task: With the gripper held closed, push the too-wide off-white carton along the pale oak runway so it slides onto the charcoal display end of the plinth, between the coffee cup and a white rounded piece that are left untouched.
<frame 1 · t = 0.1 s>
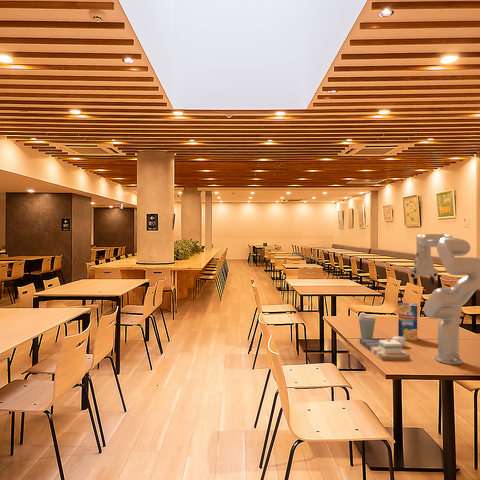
hand: (423, 284, 217), 37 cm above the table, tool pointing down, fingers open, 9 cm apart
beverage box: (407, 338, 236), on the table
carton: (390, 351, 202), point 2 cm above the table, touching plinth
white rounded piece: (398, 345, 221), on the table
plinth: (382, 350, 211), on the table
disposable coffee cup: (366, 339, 236), on the table
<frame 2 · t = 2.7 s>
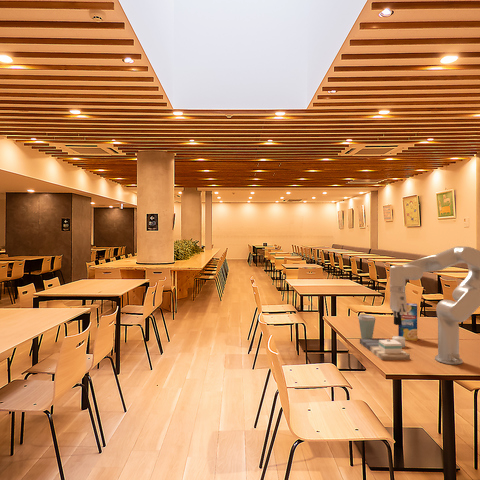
hand: (397, 324, 193), 19 cm above the table, tool pointing down, fingers closed
nothing on the table moved.
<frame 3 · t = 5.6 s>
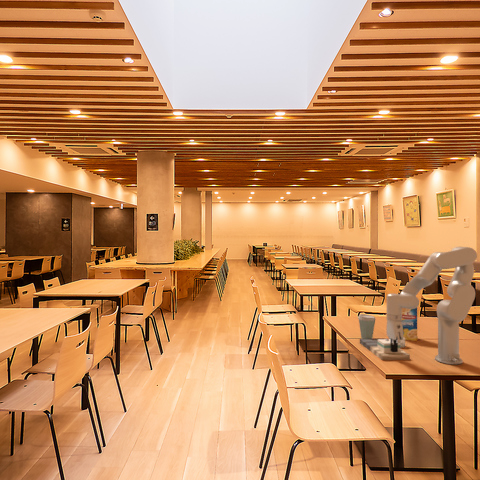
hand: (394, 351, 197), 4 cm above the table, tool pointing down, fingers closed
carton: (388, 350, 203), point 2 cm above the table, touching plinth
everything else where it was.
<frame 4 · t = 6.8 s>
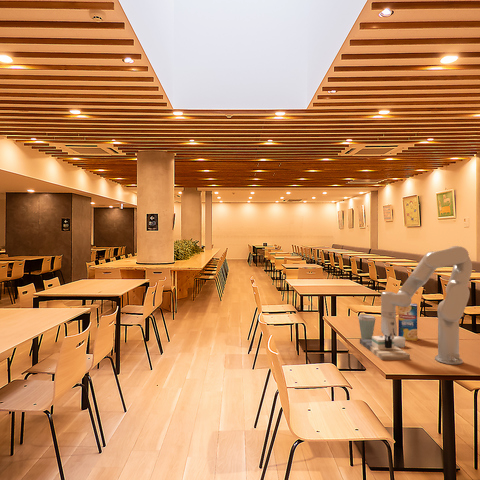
hand: (388, 347, 204), 4 cm above the table, tool pointing down, fingers closed
carton: (382, 346, 210), point 3 cm above the table, touching gripper, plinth
everything else where it was.
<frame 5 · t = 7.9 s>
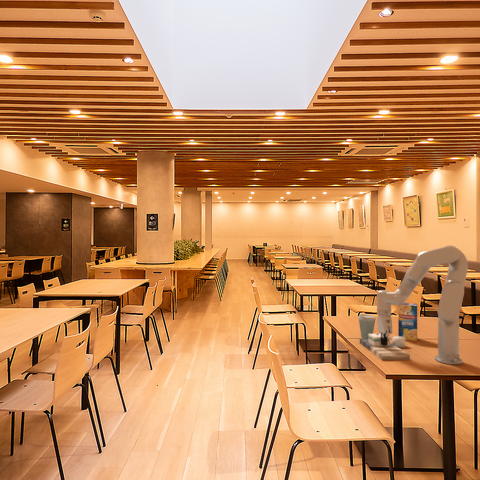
hand: (384, 344, 209), 4 cm above the table, tool pointing down, fingers closed
carton: (378, 343, 216), point 3 cm above the table, touching gripper
everything else where it was.
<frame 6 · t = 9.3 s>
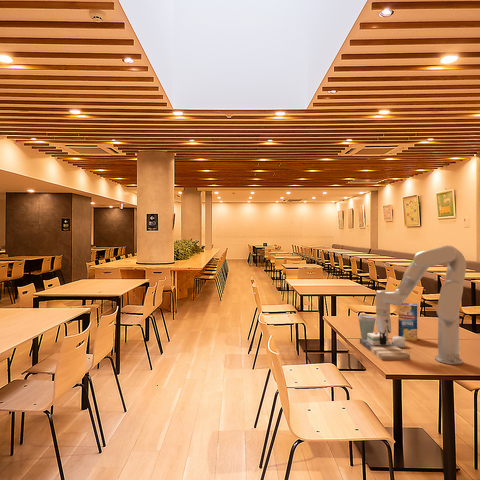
hand: (383, 344, 211), 4 cm above the table, tool pointing down, fingers closed
carton: (377, 343, 218), point 2 cm above the table, touching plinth
everything else where it was.
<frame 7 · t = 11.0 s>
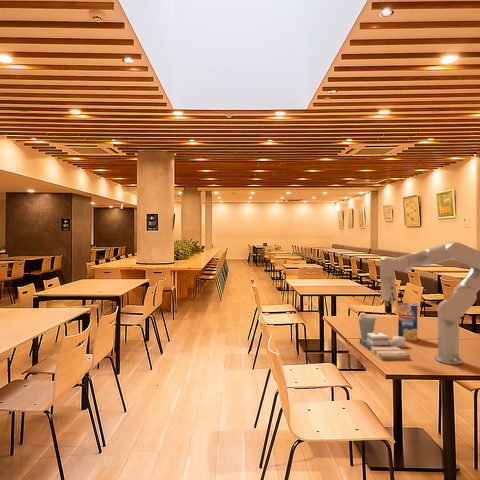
hand: (388, 312, 205), 23 cm above the table, tool pointing down, fingers closed
nothing on the table moved.
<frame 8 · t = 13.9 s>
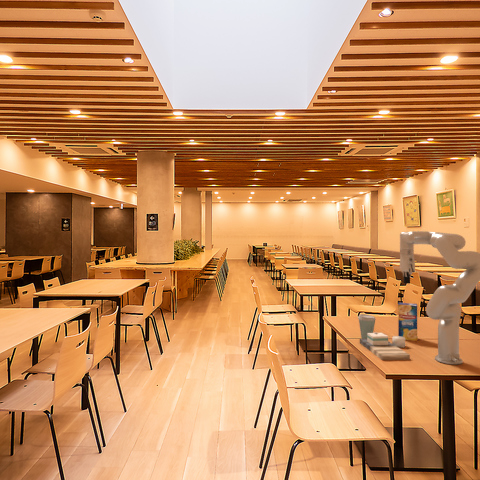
hand: (406, 283, 221), 37 cm above the table, tool pointing down, fingers closed
nothing on the table moved.
at the end: carton inside the target area on the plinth (2.6 cm from its centre), point 2.5 cm above the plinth's base; carton moved 15.4 cm from its start; carton tilted 0° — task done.
